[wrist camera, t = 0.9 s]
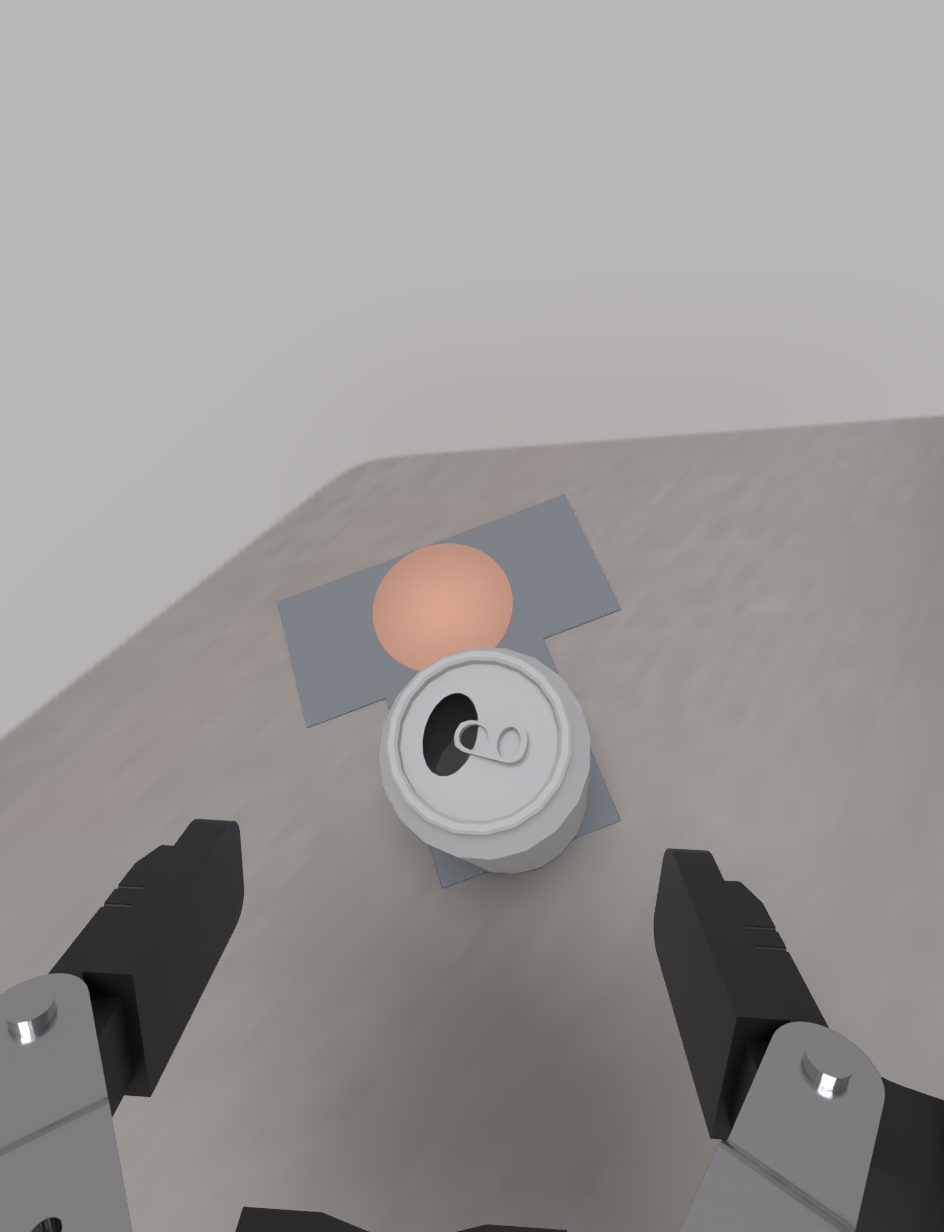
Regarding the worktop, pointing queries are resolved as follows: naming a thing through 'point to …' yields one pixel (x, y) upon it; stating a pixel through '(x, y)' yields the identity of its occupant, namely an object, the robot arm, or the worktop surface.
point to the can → (488, 759)
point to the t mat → (449, 622)
